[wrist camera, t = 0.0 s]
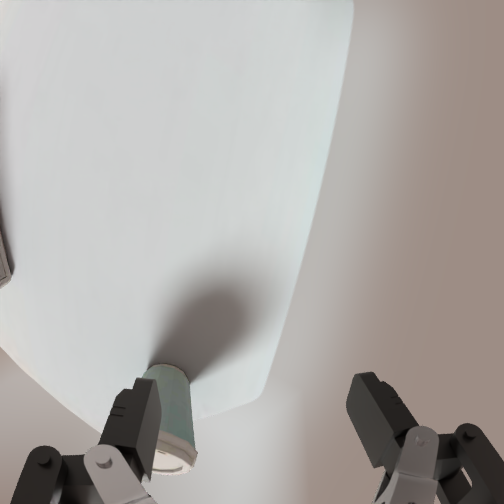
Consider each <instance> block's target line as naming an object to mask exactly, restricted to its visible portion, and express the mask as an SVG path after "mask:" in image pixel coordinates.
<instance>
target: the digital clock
mask: <svg viewBox="0 0 504 504" xmlns="http://www.w3.org/2000/svg"><path fill="white" fill-rule="evenodd" d="M6 256H7V254H6V251H5V247H4V242H3V238H2V234H1V229H0V289H1V288H2V287H4V286H5V285H7V284H8V283H9V282H10V280H11V273H10V269H9V266H8V262H7V258H6Z"/></svg>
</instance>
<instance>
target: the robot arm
mask: <svg viewBox="0 0 504 504" xmlns="http://www.w3.org/2000/svg"><path fill="white" fill-rule="evenodd" d="M346 408H347V412H348V415H349V417H350V419H351V421H352V423H353V425H354V427H355V429H356V432H357V434H358V436H359V438H360V440H361V442H362V444H363V446H364V448H365V451H366V453H367V455H368V457H369V459H370V461H371V463H372V466H373V467H374V468H377V467H380V466H384V467H385V471H384V473H383V475H382V478H381V481H380V484H379V486H378V489H377V491H376V494H375V496H374V499H373V501H372V504H434V500H435V495H436V494H437V496H438V498H439V500H440V502H441V504H504V461H503V460H502V458H501V457H500V456H499V454H498V453H497V451H496V450H495V448H494V447H493V446H492V444H491V443H490V442H489V440H488V439H487V437H486V436H485V435H484V433H483V432H482V430H481V429H480V428H479V427H477V426H476V425H473V424H470V423H465V424H462V425H460V426H459V427H458V428H457V429H456V431H455V432H454V433H453V434H437V433H436V432H435V431H434V430H433V429H431V428H429V427H426V426H419V424H418V423H417V422H416V420H415V419H414V417H413V416H412V414H411V413H410V411H409V410H408V408H407V407H406V406H405V404H403V401H402V400H401V398H400V397H398V394H397V393H396V391H395V390H394V389H393V387H391V386H390V385H389V384H387V383H386V382H384V381H382V382H380V381H379V379H378V378H377V376H376V375H375V373H374V372H366V373H359V374H355V375H354V377H353V380H352V384H351V387H350V391H349V394H348V397H347V401H346ZM161 417H162V409H161V402H160V397H159V392H158V387H157V382H156V380H155V379H147V378H136V380H135V383H134V386H133V389H123V390H122V391H121V392H120V393H119V394H118V395H117V396H116V398H115V401H114V403H113V408H112V409H111V411H110V415H109V416H108V419H107V422H106V424H105V427H104V430H103V433H102V435H101V438H100V441H99V443H98V445H96V446H94V447H91V448H90V449H89V450H88V451H87V452H86V453H85V454H84V455H69V456H68V455H67V456H66V455H63V456H61V455H60V453H59V452H58V451H57V450H56V449H55V448H53V447H50V446H39V447H36V448H35V449H33V450H32V451H31V452H30V454H29V456H28V458H27V460H26V463H25V465H24V468H23V470H22V473H21V475H20V478H19V481H18V483H17V486H16V489H15V491H14V494H13V497H12V500H11V503H10V504H157V503H156V502H155V500H154V499H153V498H152V497H151V496H150V495H149V494H148V493H147V492H146V490H145V489H144V487H143V486H142V485H141V482H150V480H151V474H152V468H153V462H154V456H155V450H156V445H157V439H158V434H159V429H160V424H161ZM463 467H464V469H465V470H466V472H467V474H468V475H469V477H470V479H471V481H472V488H471V486H470V484H469V482H468V481H467V479H466V477H465V475H464V474H463V472H462V470H461V469H462V468H463Z"/></svg>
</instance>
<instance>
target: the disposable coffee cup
mask: <svg viewBox="0 0 504 504" xmlns="http://www.w3.org/2000/svg"><path fill="white" fill-rule="evenodd" d="M142 378H147V379H155V380H156V382H157V387H158V392H159V397H160V402H161V409H162V417H161V424H160V429H159V434H158V439H157V445H156V450H155V456H154V462H153V468H152V473H156V474H160V475H180V474H184V473H188V472H189V471H190V469H191V468H193V467H194V464H195V461H196V457H197V454H198V452H197V451H196V450H195V441H194V431H193V421H192V409H191V397H190V383H189V381H188V379H187V377H186V375H185V373H184V372H183V371H182V370H180V369H178V368H177V367H175V366H172V365H168V364H157V365H153V366H152V367H151V368H149V369H148V370H147V371H146V372H145V373H144V375H143V377H142Z"/></svg>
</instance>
